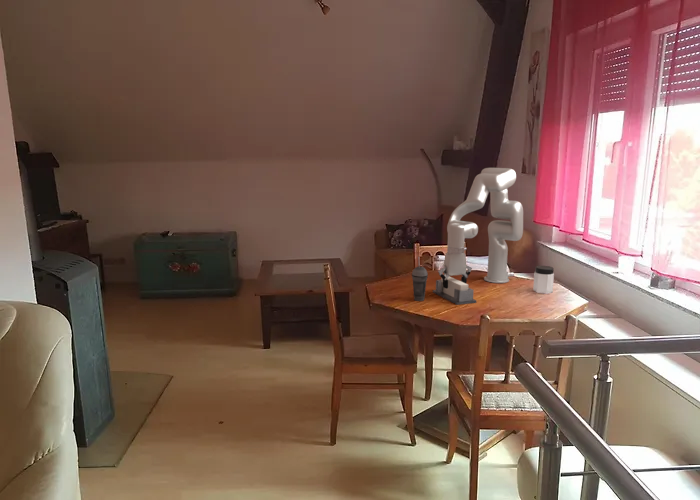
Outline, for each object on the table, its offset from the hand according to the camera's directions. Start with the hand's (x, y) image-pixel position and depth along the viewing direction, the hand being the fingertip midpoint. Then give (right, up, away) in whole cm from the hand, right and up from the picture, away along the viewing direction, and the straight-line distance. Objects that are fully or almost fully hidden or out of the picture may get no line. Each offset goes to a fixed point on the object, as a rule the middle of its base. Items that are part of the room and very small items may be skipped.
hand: (454, 286), depth 244 cm
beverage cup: (-17, -6, -3) cm, 18 cm away
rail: (0, -4, +1) cm, 4 cm away
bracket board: (0, -5, +1) cm, 5 cm away
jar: (+45, -3, +11) cm, 46 cm away
